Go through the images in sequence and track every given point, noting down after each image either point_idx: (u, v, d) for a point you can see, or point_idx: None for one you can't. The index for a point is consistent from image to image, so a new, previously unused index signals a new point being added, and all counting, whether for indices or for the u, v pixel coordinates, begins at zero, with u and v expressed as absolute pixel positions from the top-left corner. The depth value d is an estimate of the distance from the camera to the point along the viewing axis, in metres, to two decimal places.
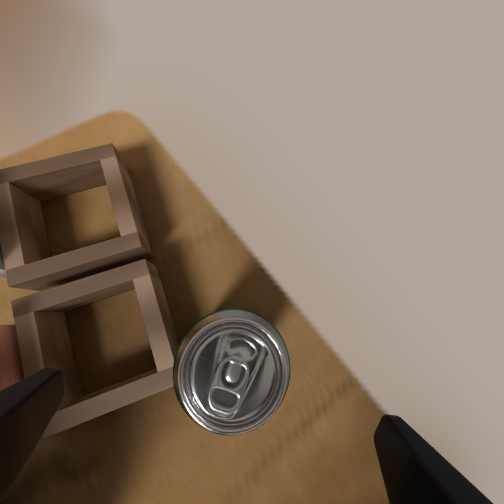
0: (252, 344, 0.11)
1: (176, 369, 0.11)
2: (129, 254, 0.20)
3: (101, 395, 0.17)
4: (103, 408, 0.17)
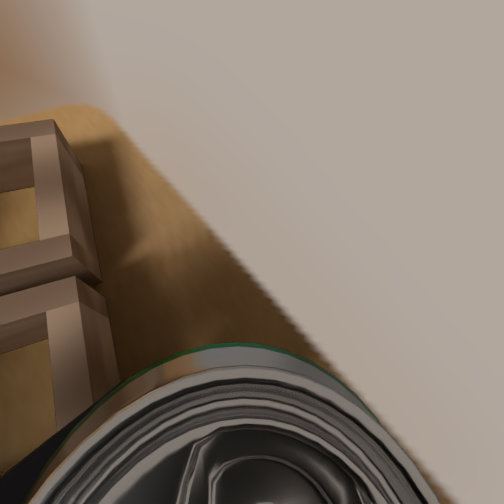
0: (312, 481, 0.03)
1: None
2: (54, 273, 0.12)
3: None
4: None
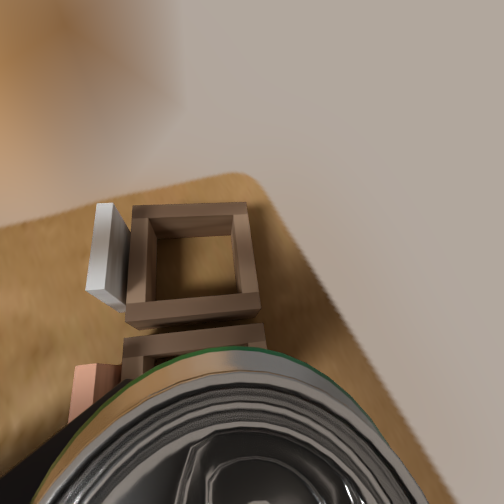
0: (304, 479, 0.03)
1: None
2: (242, 313, 0.19)
3: None
4: None
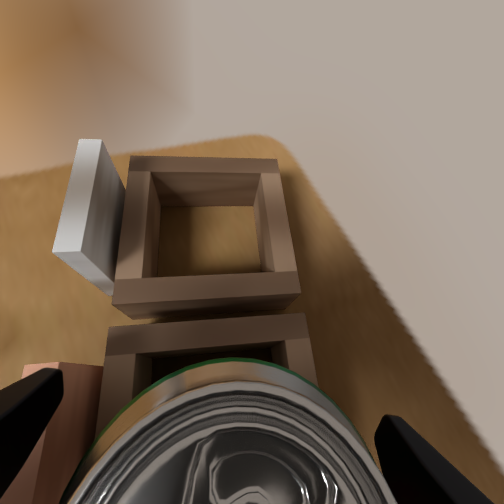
0: (289, 469, 0.04)
1: None
2: (273, 300, 0.14)
3: None
4: None
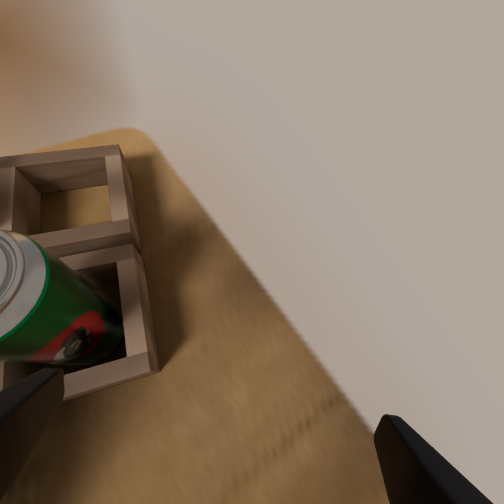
0: None
1: None
2: (117, 241, 0.21)
3: None
4: None
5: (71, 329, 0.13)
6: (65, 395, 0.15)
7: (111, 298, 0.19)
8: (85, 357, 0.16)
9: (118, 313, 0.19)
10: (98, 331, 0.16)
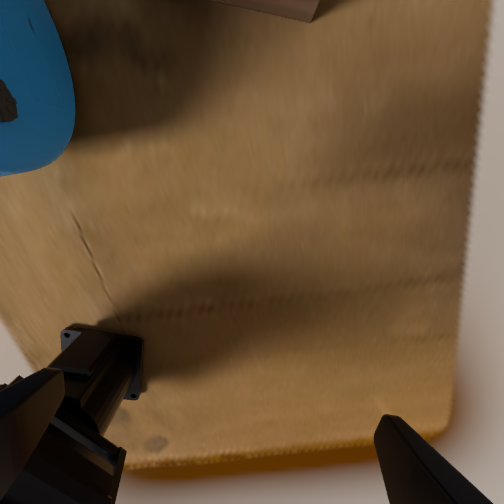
0: None
1: None
2: None
3: None
4: None
5: None
6: None
7: None
8: None
9: None
10: None
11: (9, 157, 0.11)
